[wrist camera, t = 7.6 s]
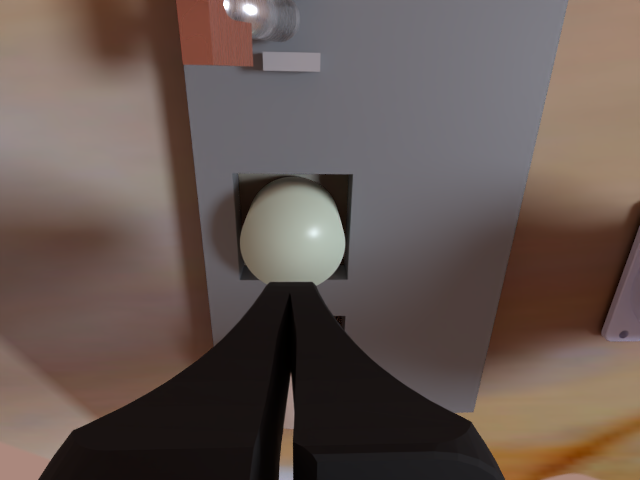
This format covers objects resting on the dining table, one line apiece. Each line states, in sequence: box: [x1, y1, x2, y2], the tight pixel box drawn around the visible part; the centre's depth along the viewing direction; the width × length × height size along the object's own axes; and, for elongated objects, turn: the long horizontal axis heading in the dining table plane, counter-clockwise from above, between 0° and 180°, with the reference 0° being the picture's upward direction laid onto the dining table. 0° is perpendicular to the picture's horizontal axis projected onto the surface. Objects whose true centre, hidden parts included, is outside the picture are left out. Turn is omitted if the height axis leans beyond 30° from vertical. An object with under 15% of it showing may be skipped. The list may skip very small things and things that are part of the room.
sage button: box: [240, 177, 345, 286], centre depth 17 cm, size 4×4×3 cm
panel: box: [184, 0, 568, 413], centre depth 17 cm, size 14×24×2 cm, turn 179°
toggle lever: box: [176, 0, 300, 66], centre depth 12 cm, size 1×3×4 cm
